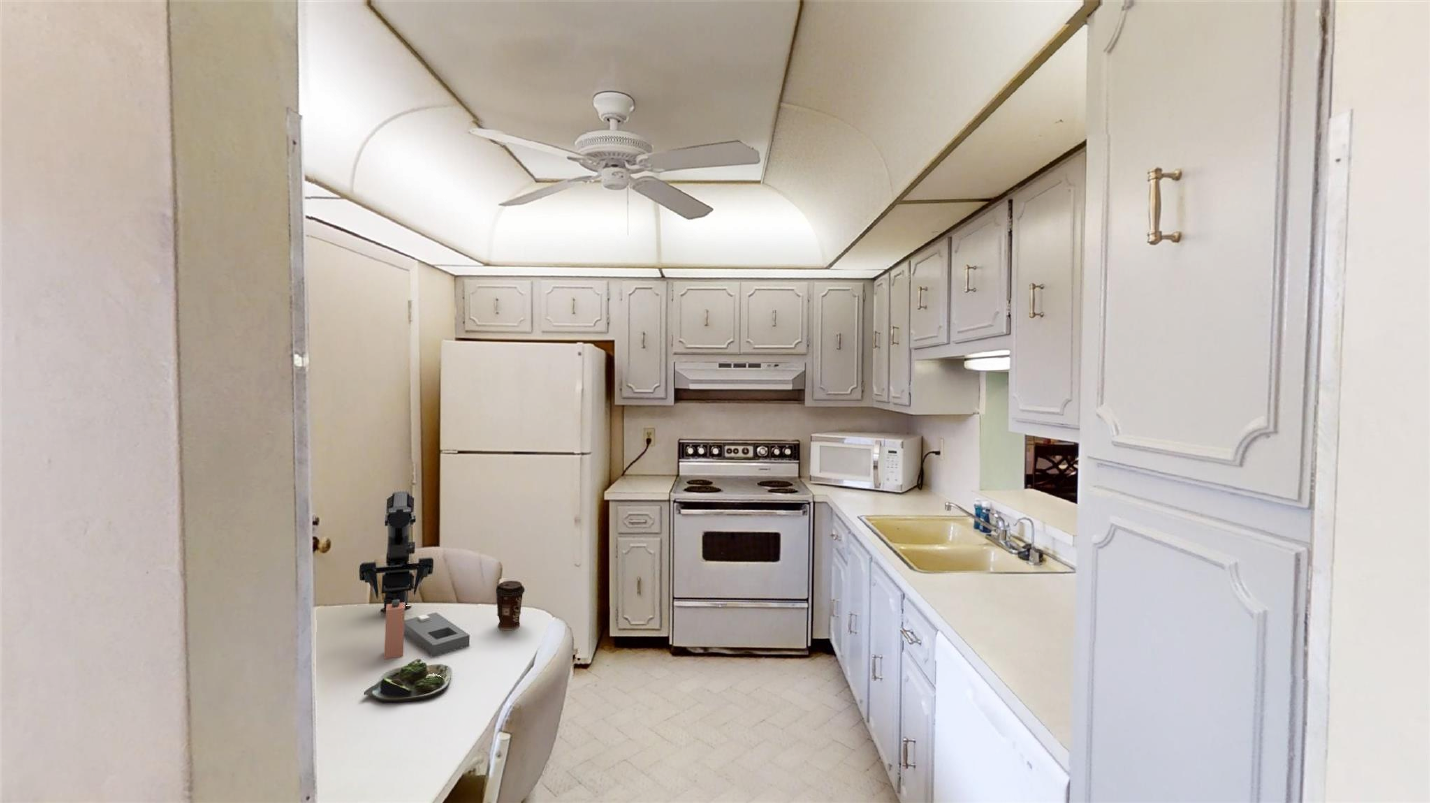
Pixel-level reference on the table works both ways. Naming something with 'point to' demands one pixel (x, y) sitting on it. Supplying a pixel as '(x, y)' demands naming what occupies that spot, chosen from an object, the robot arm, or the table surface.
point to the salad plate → (411, 683)
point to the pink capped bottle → (394, 629)
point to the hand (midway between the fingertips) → (396, 596)
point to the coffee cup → (509, 604)
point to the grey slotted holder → (435, 633)
